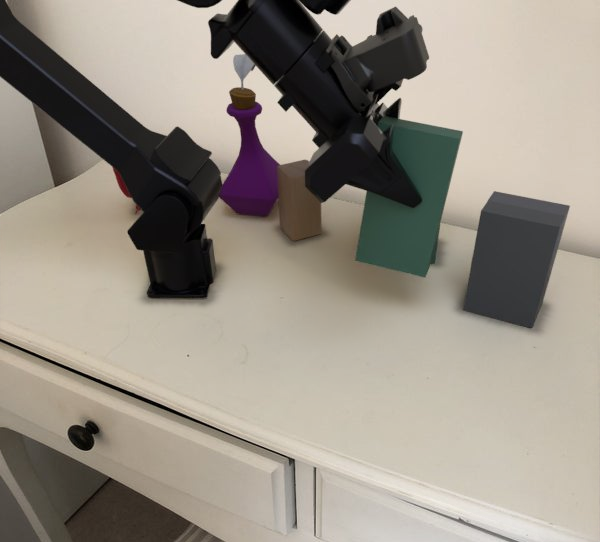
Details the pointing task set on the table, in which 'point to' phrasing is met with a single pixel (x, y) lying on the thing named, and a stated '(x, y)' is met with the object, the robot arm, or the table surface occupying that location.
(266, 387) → the table surface
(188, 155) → the robot arm
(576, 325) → the table surface
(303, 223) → the wooden block
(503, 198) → the charcoal book
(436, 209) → the green book
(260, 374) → the table surface
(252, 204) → the perfume bottle
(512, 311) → the charcoal book
